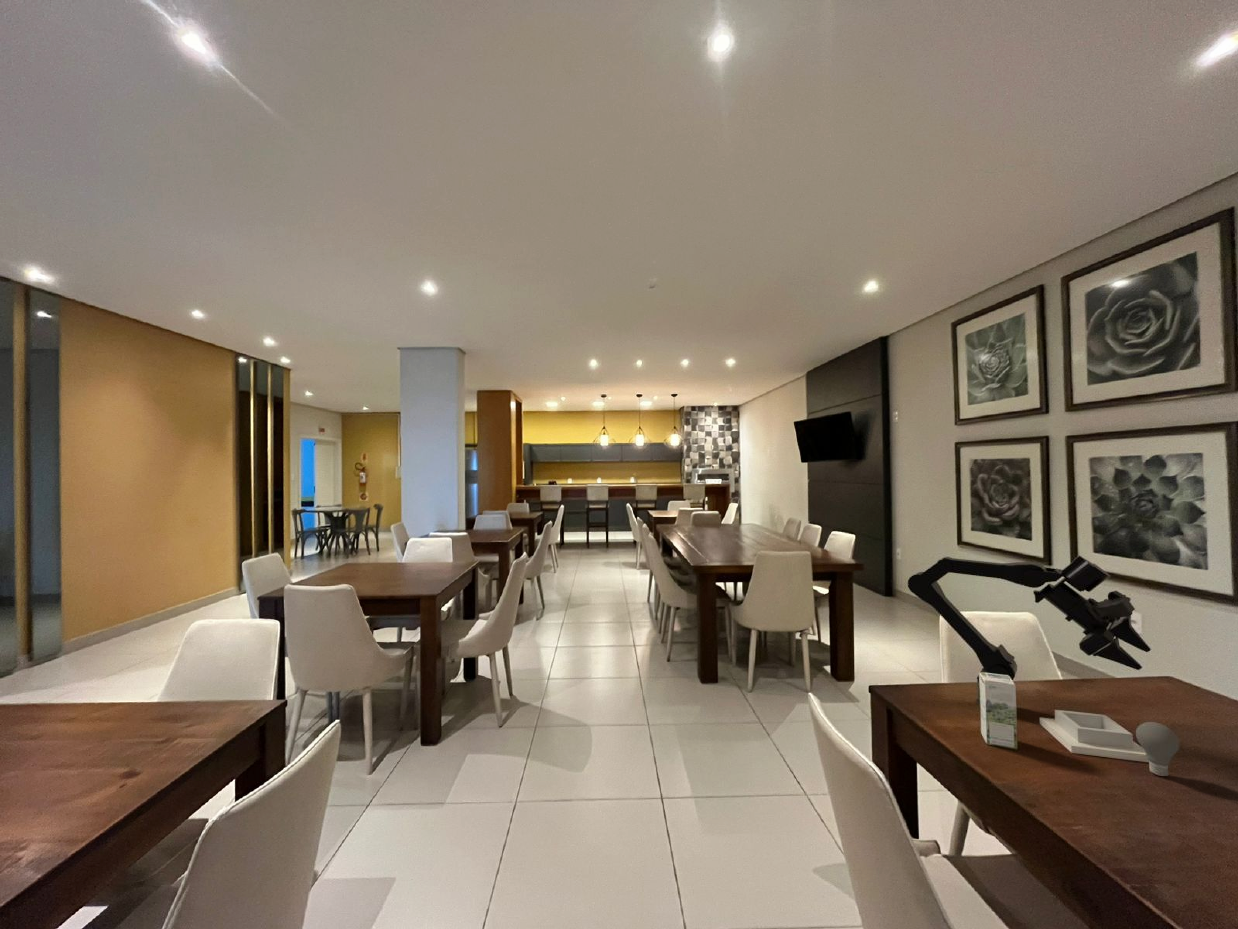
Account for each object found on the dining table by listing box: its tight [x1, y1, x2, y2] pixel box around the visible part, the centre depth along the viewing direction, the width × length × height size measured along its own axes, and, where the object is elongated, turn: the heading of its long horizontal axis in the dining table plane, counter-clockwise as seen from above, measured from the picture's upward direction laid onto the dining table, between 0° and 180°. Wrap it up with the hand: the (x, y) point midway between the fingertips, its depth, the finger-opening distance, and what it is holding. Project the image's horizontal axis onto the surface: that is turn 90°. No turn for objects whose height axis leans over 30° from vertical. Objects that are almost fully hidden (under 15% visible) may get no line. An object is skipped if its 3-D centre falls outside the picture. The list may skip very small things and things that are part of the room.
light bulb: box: [1135, 721, 1180, 777], centre depth 101 cm, size 6×6×10 cm
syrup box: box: [978, 671, 1018, 750], centre depth 115 cm, size 6×6×14 cm
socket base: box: [1039, 709, 1149, 763], centre depth 114 cm, size 14×14×4 cm
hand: (1144, 659), depth 113 cm, fingers open, 9 cm apart
